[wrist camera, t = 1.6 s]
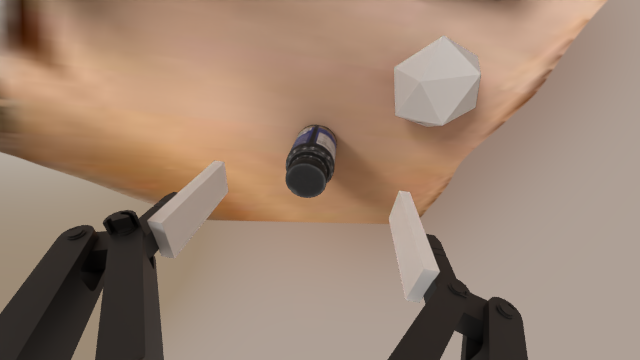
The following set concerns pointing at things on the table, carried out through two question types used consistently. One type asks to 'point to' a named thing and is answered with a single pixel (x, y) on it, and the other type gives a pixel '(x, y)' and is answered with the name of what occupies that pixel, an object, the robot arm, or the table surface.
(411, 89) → the die
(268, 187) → the table surface
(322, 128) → the pill bottle
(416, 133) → the table surface
